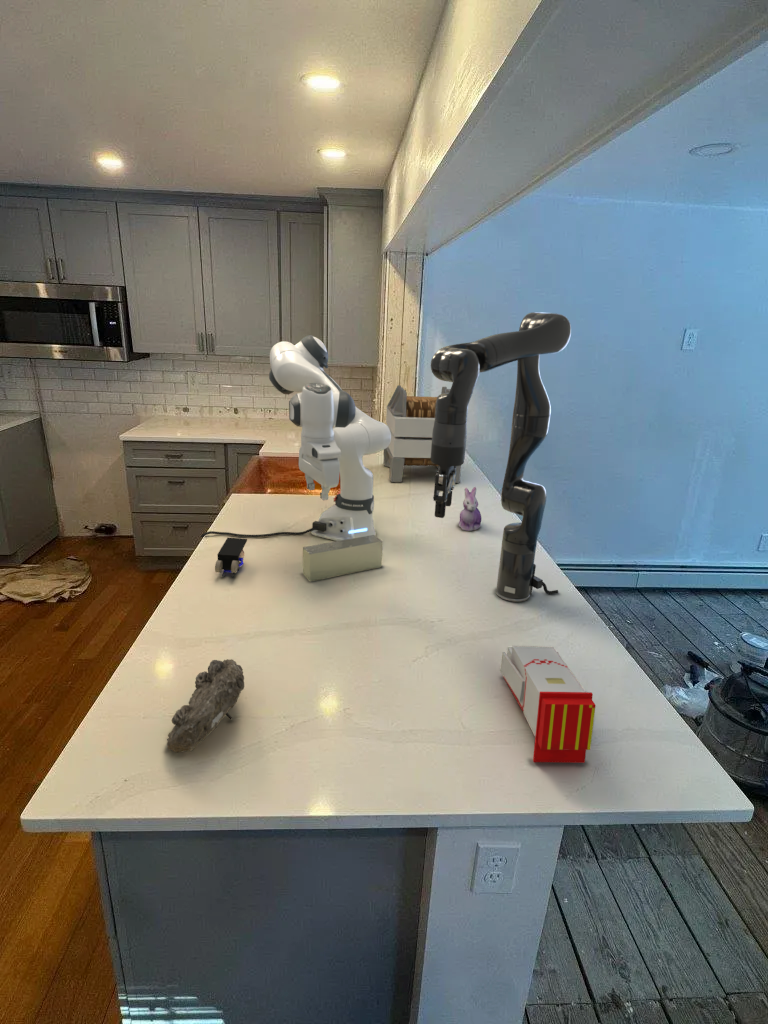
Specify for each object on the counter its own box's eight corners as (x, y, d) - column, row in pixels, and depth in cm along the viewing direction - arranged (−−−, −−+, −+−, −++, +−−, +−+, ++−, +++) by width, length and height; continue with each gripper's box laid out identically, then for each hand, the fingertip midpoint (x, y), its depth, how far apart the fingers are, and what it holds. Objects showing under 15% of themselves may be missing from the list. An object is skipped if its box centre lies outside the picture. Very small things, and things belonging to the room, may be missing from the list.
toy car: (238, 584, 162) (249, 557, 175) (236, 562, 158) (247, 536, 172) (215, 584, 161) (227, 556, 175) (212, 561, 158) (225, 535, 171)
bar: (310, 581, 162) (310, 554, 160) (302, 574, 167) (302, 547, 164) (381, 567, 174) (382, 541, 171) (373, 560, 178) (374, 534, 175)
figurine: (467, 533, 203) (471, 493, 198) (451, 523, 211) (454, 485, 206) (488, 529, 207) (492, 490, 202) (471, 520, 215) (475, 482, 210)
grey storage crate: (382, 463, 289) (386, 382, 275) (445, 464, 293) (451, 384, 279) (390, 482, 257) (394, 392, 243) (460, 483, 261) (468, 394, 247)
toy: (549, 628, 125) (605, 700, 96) (544, 683, 128) (596, 770, 99) (495, 627, 125) (534, 699, 95) (491, 683, 128) (527, 769, 98)
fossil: (192, 660, 117) (244, 628, 112) (224, 691, 120) (276, 661, 115) (142, 746, 98) (202, 712, 93) (182, 779, 101) (242, 748, 96)
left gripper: (292, 438, 160) (293, 485, 165) (321, 455, 143) (321, 506, 148) (313, 436, 163) (313, 482, 168) (344, 453, 146) (343, 503, 151)
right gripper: (460, 450, 117) (454, 523, 123) (470, 437, 130) (463, 503, 136) (425, 447, 119) (420, 519, 125) (438, 434, 132) (433, 500, 138)
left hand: (317, 494), depth 158 cm, fingers open, 8 cm apart
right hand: (443, 511), depth 130 cm, fingers open, 8 cm apart
